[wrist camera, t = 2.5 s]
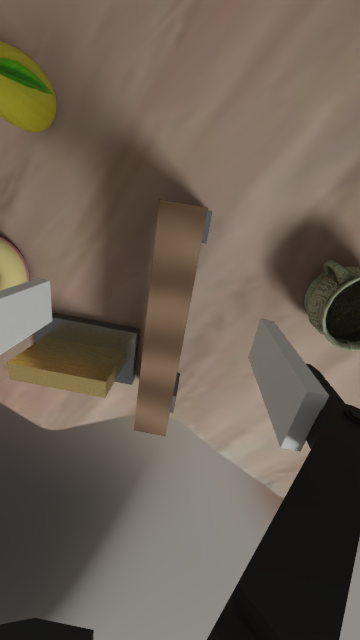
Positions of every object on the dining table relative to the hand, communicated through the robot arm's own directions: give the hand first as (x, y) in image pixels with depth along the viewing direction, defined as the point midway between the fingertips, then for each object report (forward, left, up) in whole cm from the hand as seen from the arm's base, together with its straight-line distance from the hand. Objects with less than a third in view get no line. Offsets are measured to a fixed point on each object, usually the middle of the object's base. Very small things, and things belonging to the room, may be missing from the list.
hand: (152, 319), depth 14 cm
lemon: (-14, -17, -17) cm, 28 cm away
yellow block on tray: (+14, -12, -17) cm, 25 cm away
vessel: (0, +20, -17) cm, 26 cm away
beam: (+6, 0, -12) cm, 13 cm away
